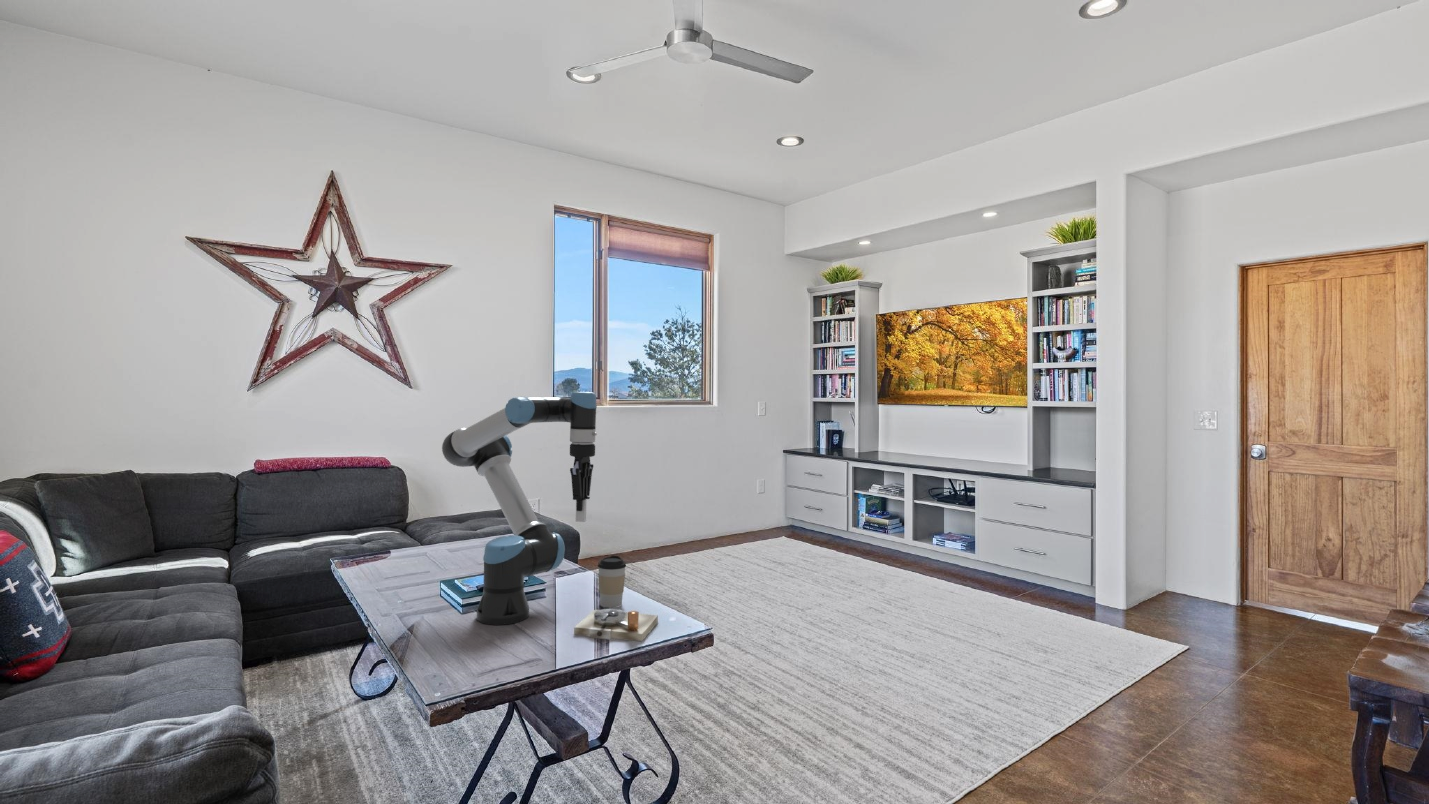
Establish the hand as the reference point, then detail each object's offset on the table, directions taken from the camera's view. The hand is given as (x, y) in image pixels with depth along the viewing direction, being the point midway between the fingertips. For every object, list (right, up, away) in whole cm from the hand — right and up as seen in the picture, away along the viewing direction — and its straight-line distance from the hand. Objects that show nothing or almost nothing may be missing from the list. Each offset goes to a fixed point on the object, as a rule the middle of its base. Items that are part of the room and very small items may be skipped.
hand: (580, 521), depth 206 cm
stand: (+12, -30, -7) cm, 33 cm away
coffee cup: (+7, -30, +14) cm, 34 cm away
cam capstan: (+12, -28, -10) cm, 32 cm away
